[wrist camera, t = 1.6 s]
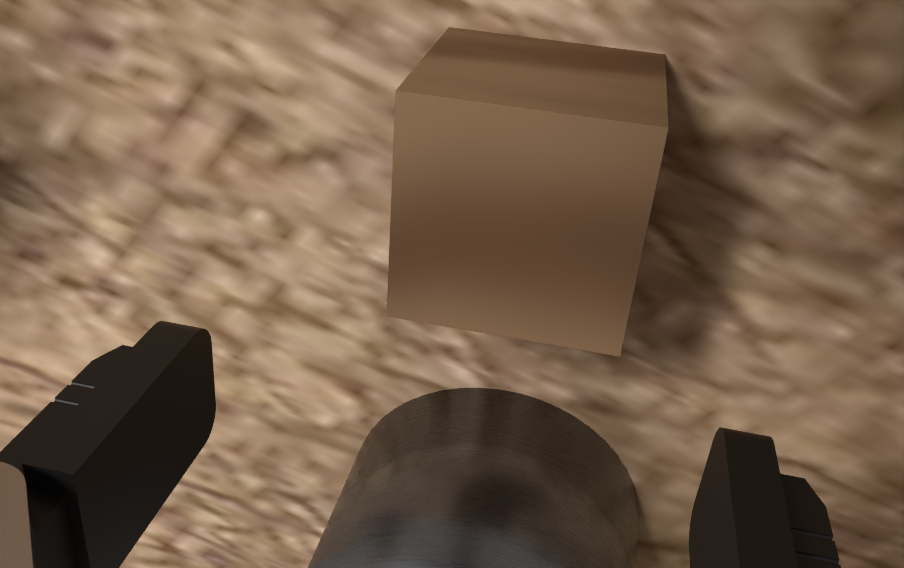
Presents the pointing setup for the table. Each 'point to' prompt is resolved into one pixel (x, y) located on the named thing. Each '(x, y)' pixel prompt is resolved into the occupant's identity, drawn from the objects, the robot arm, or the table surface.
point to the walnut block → (524, 187)
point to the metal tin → (482, 490)
